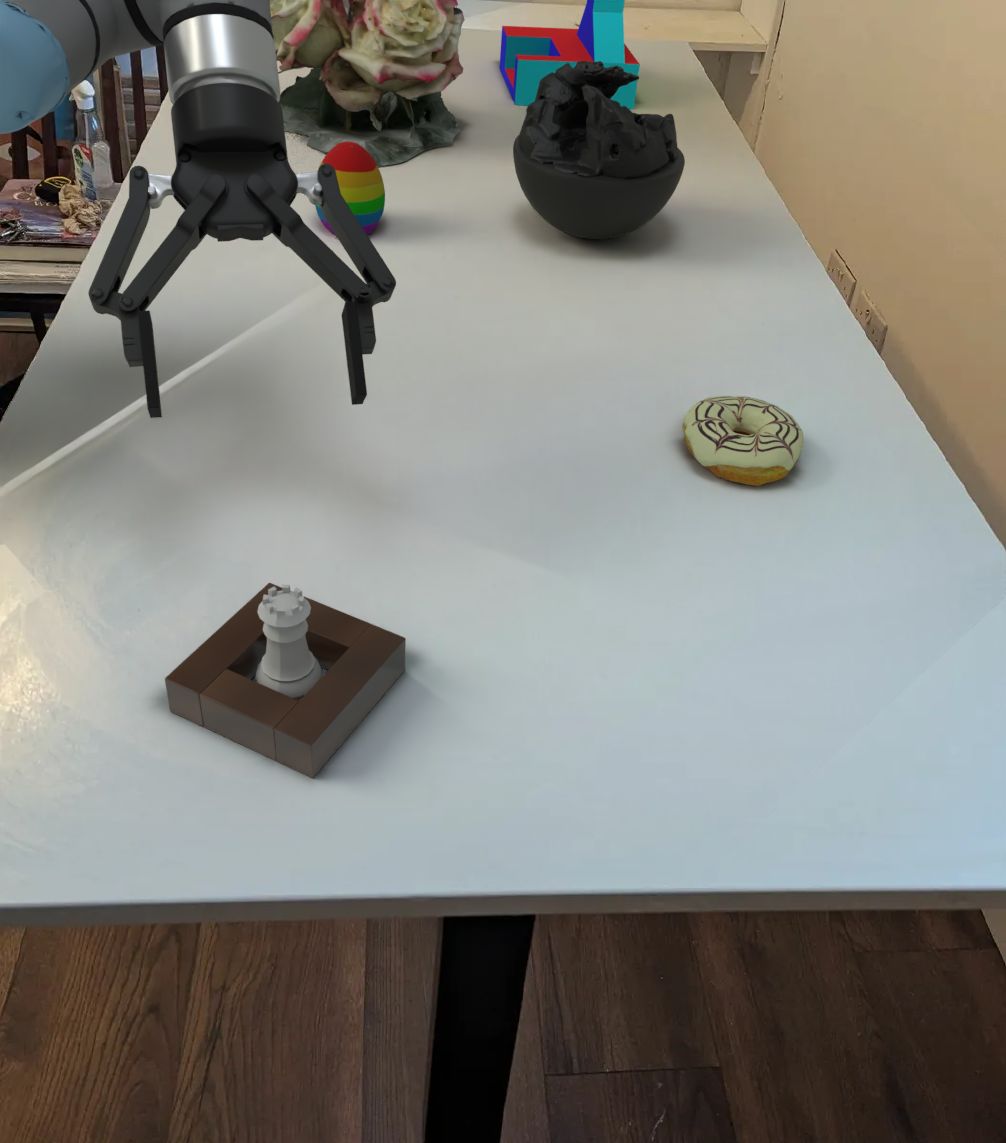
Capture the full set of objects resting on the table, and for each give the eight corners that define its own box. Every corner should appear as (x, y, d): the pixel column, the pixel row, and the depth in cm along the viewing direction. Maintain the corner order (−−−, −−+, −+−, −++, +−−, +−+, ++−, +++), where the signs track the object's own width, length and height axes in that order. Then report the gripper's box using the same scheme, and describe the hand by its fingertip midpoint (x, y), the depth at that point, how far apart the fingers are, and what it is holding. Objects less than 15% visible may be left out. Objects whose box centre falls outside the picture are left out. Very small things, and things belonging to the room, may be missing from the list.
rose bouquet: (237, 124, 158) (217, -124, 139) (401, 93, 174) (404, -134, 155) (346, 182, 144) (341, -85, 125) (513, 142, 160) (531, -100, 141)
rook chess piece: (312, 719, 72) (307, 627, 67) (245, 707, 73) (235, 614, 68) (332, 672, 76) (329, 581, 71) (268, 660, 76) (261, 569, 71)
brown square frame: (169, 711, 72) (163, 678, 70) (271, 614, 80) (269, 581, 78) (313, 778, 69) (311, 745, 67) (405, 670, 76) (405, 637, 75)
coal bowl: (583, 189, 148) (601, 36, 136) (704, 240, 137) (734, 79, 125) (473, 224, 136) (481, 60, 124) (595, 283, 126) (617, 110, 114)
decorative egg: (325, 245, 129) (322, 157, 122) (307, 217, 134) (304, 132, 128) (393, 239, 131) (394, 153, 125) (373, 212, 137) (373, 128, 131)
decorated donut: (688, 488, 96) (695, 450, 93) (672, 421, 104) (678, 385, 102) (808, 493, 96) (819, 456, 94) (783, 426, 105) (792, 391, 102)
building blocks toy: (602, 62, 195) (616, -57, 183) (633, 108, 176) (651, -21, 164) (495, 58, 192) (502, -63, 181) (514, 105, 173) (524, -27, 162)
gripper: (396, 130, 84) (430, 407, 83) (42, 132, 78) (71, 431, 77) (412, 77, 77) (449, 380, 76) (23, 75, 71) (55, 404, 69)
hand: (259, 406), depth 76 cm, fingers open, 13 cm apart
